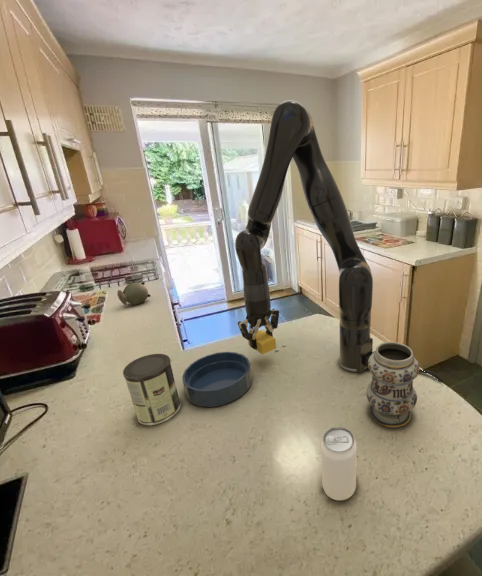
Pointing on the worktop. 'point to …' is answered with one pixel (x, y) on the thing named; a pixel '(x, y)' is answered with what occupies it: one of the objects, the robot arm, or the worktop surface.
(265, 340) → the sponge
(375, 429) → the worktop surface
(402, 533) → the worktop surface
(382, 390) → the apothecary jar
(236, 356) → the bowl
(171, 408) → the coffee can
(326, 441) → the can
